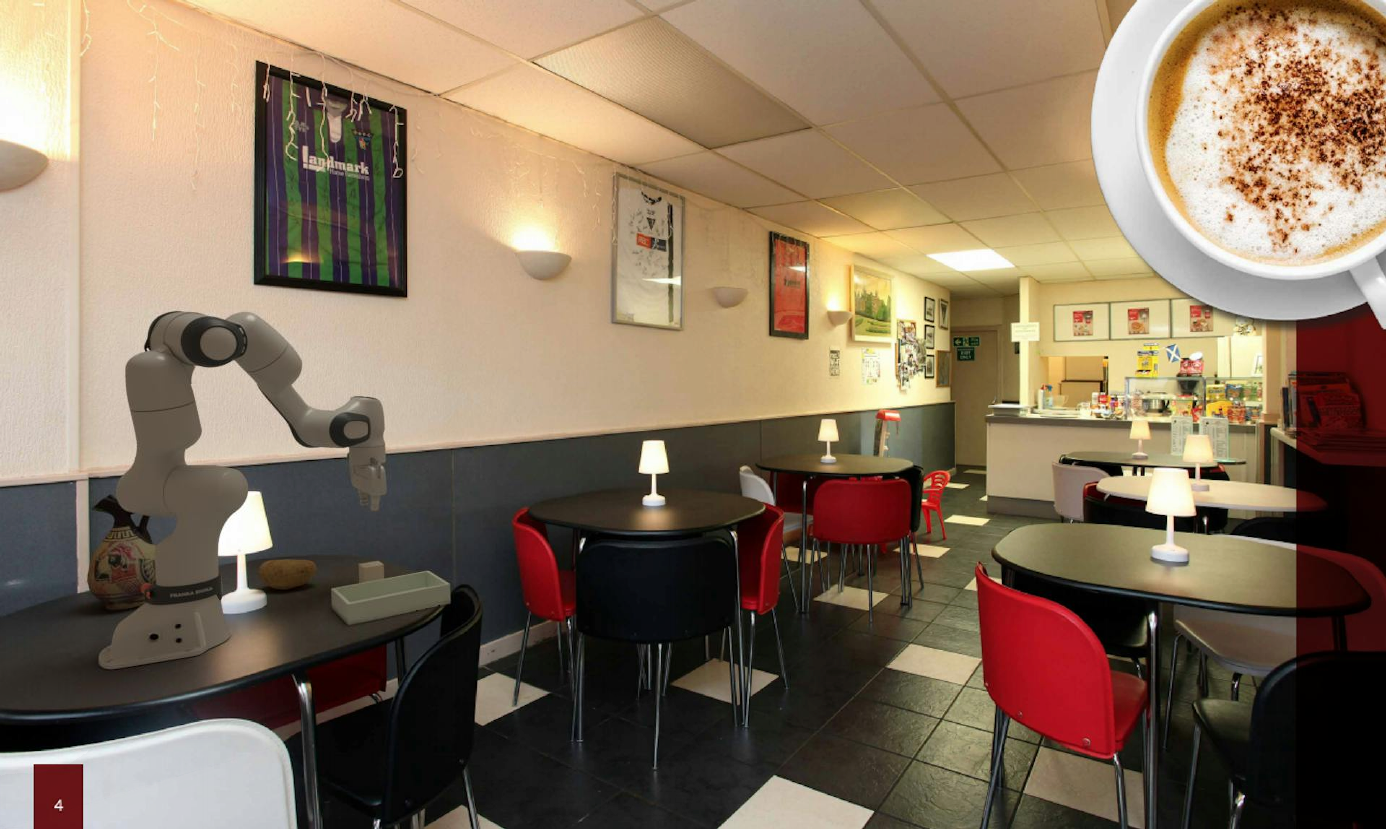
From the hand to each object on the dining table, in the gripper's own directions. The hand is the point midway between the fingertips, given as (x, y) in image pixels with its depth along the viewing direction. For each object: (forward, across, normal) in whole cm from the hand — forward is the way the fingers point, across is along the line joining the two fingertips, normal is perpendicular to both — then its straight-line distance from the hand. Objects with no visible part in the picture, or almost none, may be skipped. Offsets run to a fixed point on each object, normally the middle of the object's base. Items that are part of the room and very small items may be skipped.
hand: (369, 507), depth 188 cm
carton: (+22, 0, 0) cm, 22 cm away
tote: (+22, -17, 0) cm, 28 cm away
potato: (+23, +16, +17) cm, 32 cm away
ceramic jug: (+22, +27, +50) cm, 61 cm away
